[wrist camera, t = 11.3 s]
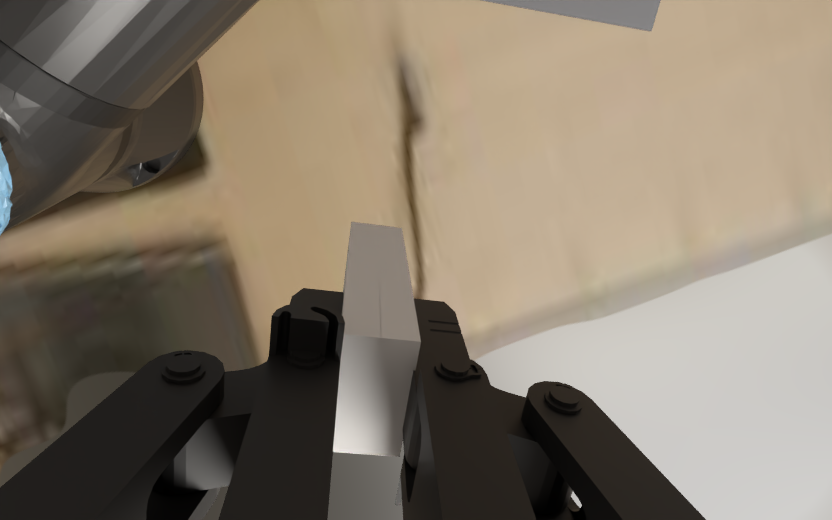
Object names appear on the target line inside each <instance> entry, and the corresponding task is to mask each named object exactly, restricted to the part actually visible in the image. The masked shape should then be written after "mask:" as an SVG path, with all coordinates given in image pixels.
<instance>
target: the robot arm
mask: <svg viewBox="0 0 832 520" xmlns="http://www.w3.org/2000/svg"><path fill="white" fill-rule="evenodd" d="M258 1H259V0H0V235H1V234H2V233H3V232H5V231H7V230H9V229H11V228H13V227H14V226H16V225H18V224H20V223H22V222H24V221H25V220H27V219H29V218H31V217H33V216H35V215H36V214H38V213H40V212H42V211H44V210H46V209H47V208H49V207H51V206H53V205H55V204H56V203H58V202H60V201H62V200H64V199H66V198H67V197H69V196H71V195H73V194H75V193H77V192H78V191H86V192H101V193H104V192H117V191H123V190H128V189H131V188H135V187H138V186H141V185H143V184H146V183H148V182H150V181H152V180H153V179H155V178H157V177H158V176H160V175H161V174H163V173H164V172H166V171H167V170H169V169H170V168H171V167H173V166H174V165H175V164H176V163H177V162H178V161H179V160H180V159H181V158H182V157H183V156H184V155H185V153H186V152H187V151H188V149H189V148H190V146H191V145H192V143H193V141H194V139H195V137H196V134H197V132H198V129H199V126H200V123H201V118H202V112H203V85H202V79H201V74H200V70H199V66H198V63H197V60H198V59H199V58H200V57H201V56H202V55H203V54H204V53H205V52H206V51H207V50H208V49H209V48H210V47H212V46H213V45H214V44H215V43H216V42H217V41H218V40H219V39H220V38H221V37H222V36H223V35H224V34H225V33H226V32H227V31H228V30H229V29H230V28H231V27H232V26H233V25H234V24H235V23H236V22H237V21H238V20H239V19H240V18H241V17H243V16H244V15H245V14H246V13H247V12H248V11H249V10H250V9H251V8H252V7H253V6H254V5H255V4H256V3H257V2H258ZM458 324H459V323H458V320H457V317H456V313H455V312H454V311H453V310H452V309H451V308H450V307H449V306H448V305H447V304H446V303H445V302H440V301H431V300H422V299H414V298H413V292H412V286H411V280H410V274H409V268H408V262H407V256H406V250H405V244H404V238H403V232H402V228H398V227H390V226H382V225H374V224H366V223H358V222H351V230H350V238H349V246H348V254H347V263H346V271H345V279H344V288H343V292H334V291H325V290H316V289H306V288H303V289H302V290H300V291H299V292H298V293H296V294H295V295H294V296H292V299H291V302H290V305H286V306H284V307H282V308H280V309H277V310H276V311H275V313H274V314H273V315H272V321H271V335H270V350H269V357H268V360H267V362H265V363H263V364H261V365H259V366H256V367H253V368H250V369H245V370H239V371H229V372H225V371H224V366H223V363H222V362H221V361H220V360H219V359H218V358H216V357H215V356H213V355H210V354H207V353H205V352H198V351H176V352H171V353H168V354H165V355H161V356H159V357H157V358H155V359H153V360H152V361H150V362H148V363H147V364H146V365H145V366H143V367H142V368H141V369H140V370H139V371H138V372H136V373H135V374H134V375H133V376H132V377H130V378H129V379H128V380H127V381H126V382H125V383H124V384H122V385H121V386H120V387H119V388H118V389H116V390H115V391H114V392H113V393H112V394H110V395H109V396H108V397H107V398H106V399H104V400H103V401H102V402H101V403H100V404H99V405H98V406H96V407H95V408H94V409H93V410H91V411H90V412H89V413H88V414H87V415H86V416H84V417H83V418H82V419H81V420H80V421H78V422H77V423H76V424H75V425H74V426H73V427H71V428H70V429H69V430H68V431H67V432H65V433H64V434H63V435H62V436H61V437H60V438H58V439H57V440H56V441H55V442H54V443H52V444H51V445H50V446H49V447H48V448H47V449H45V450H44V451H43V452H42V453H41V454H39V456H37V457H36V458H35V459H33V460H32V461H31V462H30V463H29V464H28V465H26V466H25V467H24V468H23V469H22V470H20V471H19V472H18V473H17V474H16V475H15V476H13V477H12V478H11V479H10V480H9V481H8V482H6V483H5V484H4V485H3V486H2V487H0V520H202V519H203V518H204V516H205V515H206V513H207V511H208V510H209V509H210V507H211V506H212V504H213V503H214V501H215V500H216V498H217V496H218V493H219V490H220V487H223V486H229V487H228V491H227V494H226V497H225V501H224V504H223V507H222V510H221V513H220V517H219V520H327V516H328V504H329V492H330V480H331V468H332V456H333V452H342V453H355V454H369V455H370V454H371V455H383V456H399V457H400V452H401V446H402V441H404V442H403V443H404V459H403V464H402V469H401V475H400V481H399V485H398V490H397V496H396V501H395V505H400V504H401V500H402V506H403V520H706V519H705V518H704V517H703V516H702V515H701V514H700V513H699V512H698V511H697V510H696V509H695V508H694V507H693V506H692V505H691V504H690V502H688V500H687V499H686V498H685V497H684V496H683V495H682V494H681V493H680V492H679V491H678V490H677V489H676V488H675V487H674V486H673V485H672V484H671V483H670V482H669V480H668V479H667V478H666V477H665V476H664V475H663V474H662V473H661V472H660V471H659V470H658V469H657V468H656V467H655V466H654V465H653V464H652V462H650V460H649V459H648V458H647V457H646V456H645V455H644V454H643V453H642V452H641V451H640V450H639V449H638V448H637V447H636V446H635V445H634V444H633V443H632V441H631V440H630V439H629V438H628V437H627V436H626V435H625V434H624V433H623V432H622V431H621V430H620V429H619V428H618V427H617V426H616V425H615V424H614V422H612V421H611V419H610V418H609V417H608V416H607V415H606V414H605V413H604V412H603V411H602V410H601V409H600V408H599V407H598V406H597V405H596V404H595V403H594V401H593V400H592V399H590V398H589V397H588V396H587V395H585V394H584V393H583V392H581V391H579V390H577V389H575V388H573V387H572V386H570V385H567V384H562V383H560V382H548V381H544V382H539V383H535V384H534V385H532V386H531V387H530V388H529V389H528V393H527V396H526V398H525V397H522V396H518V395H515V394H511V393H508V392H505V391H502V390H499V389H497V388H494V387H493V386H491V385H490V383H489V380H488V377H487V374H486V373H485V371H484V370H483V368H482V367H481V366H480V365H478V364H477V363H476V362H474V361H473V360H470V359H469V355H468V352H467V349H466V346H465V342H464V339H463V336H462V334H461V329H460V326H459V325H458ZM572 491H574V493H575V494H576V496H577V497H578V498H579V500H580V502H581V504H582V507H581V508H579V507H578V506H577V505H576V503H575V502H574V500H573V499H572V498H571V494H572Z"/></svg>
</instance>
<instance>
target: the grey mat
mask: <svg viewBox="0 0 832 520" xmlns="http://www.w3.org/2000/svg"><path fill="white" fill-rule="evenodd" d="M482 1H488V2H493V3H498V4H504V5H509V6H515V7H520V8H526V9H531V10H537V11H542V12H547V13H553V14H558V15H564V16H569V17H575V18H580V19H586V20H591V21H596V22H602V23H607V24H613V25H618V26H624V27H629V28H635V29H640V30H645V31H652V28H653V24H654V21H655V17H656V14H657V11H658V7H659V4H660V0H482Z"/></svg>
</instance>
